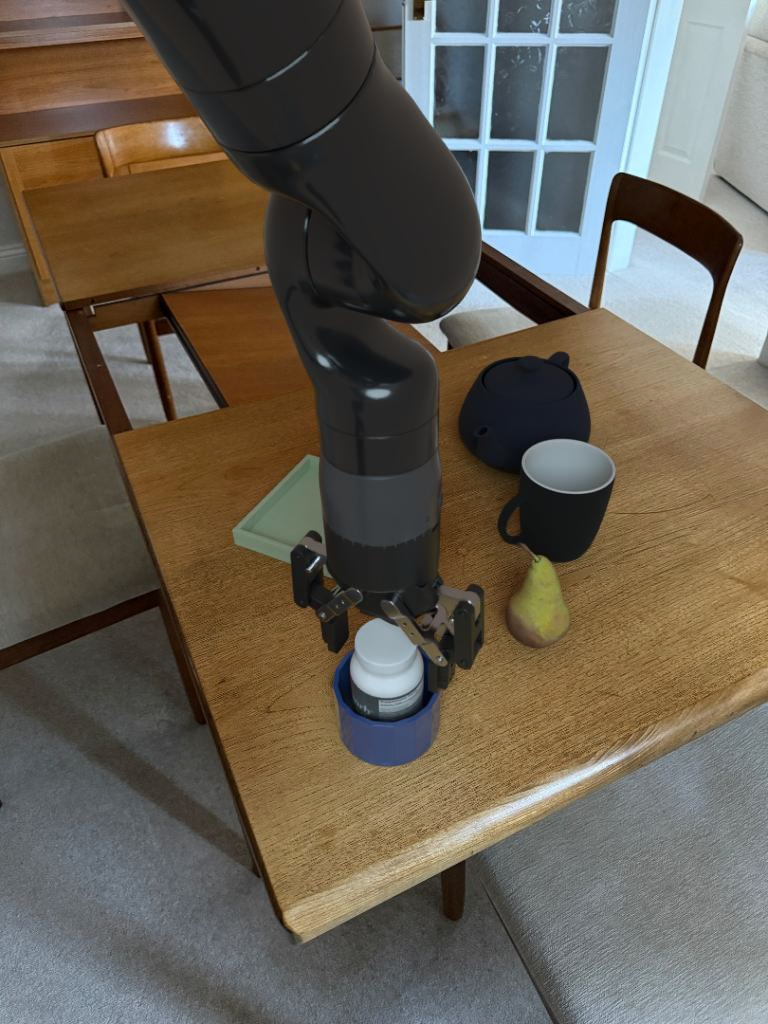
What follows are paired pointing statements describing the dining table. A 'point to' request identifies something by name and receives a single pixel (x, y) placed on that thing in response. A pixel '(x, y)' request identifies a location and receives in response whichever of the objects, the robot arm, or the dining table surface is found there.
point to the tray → (285, 514)
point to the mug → (560, 498)
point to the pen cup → (385, 724)
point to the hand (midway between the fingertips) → (387, 664)
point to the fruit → (538, 606)
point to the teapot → (522, 409)
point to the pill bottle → (386, 673)
